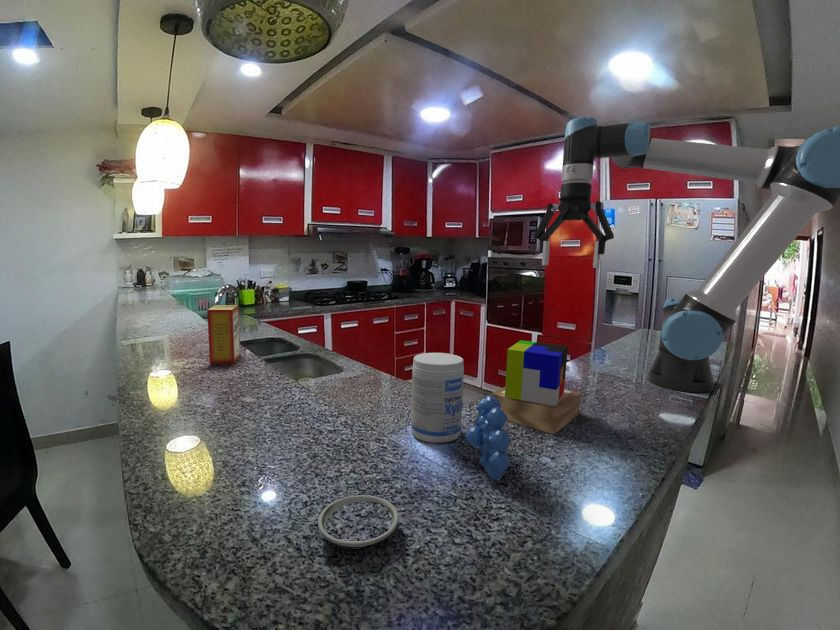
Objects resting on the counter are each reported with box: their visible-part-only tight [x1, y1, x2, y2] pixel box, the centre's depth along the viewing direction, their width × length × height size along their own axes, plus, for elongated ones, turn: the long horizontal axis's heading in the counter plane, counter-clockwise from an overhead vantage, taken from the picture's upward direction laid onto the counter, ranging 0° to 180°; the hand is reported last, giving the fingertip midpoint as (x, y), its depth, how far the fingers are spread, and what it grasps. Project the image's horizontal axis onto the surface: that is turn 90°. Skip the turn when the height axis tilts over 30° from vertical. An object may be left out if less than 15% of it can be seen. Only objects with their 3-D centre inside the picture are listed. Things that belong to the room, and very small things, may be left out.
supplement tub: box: [410, 352, 465, 444], centre depth 80 cm, size 10×10×15 cm
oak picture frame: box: [490, 386, 582, 435], centre depth 91 cm, size 14×14×5 cm
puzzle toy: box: [504, 339, 569, 407], centre depth 89 cm, size 10×10×10 cm
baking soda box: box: [206, 304, 241, 365], centre depth 127 cm, size 10×6×16 cm
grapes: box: [464, 394, 512, 481], centre depth 67 cm, size 12×7×12 cm, turn 8°
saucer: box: [317, 494, 399, 548], centre depth 52 cm, size 10×10×2 cm
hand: (569, 266), depth 114 cm, fingers open, 13 cm apart
